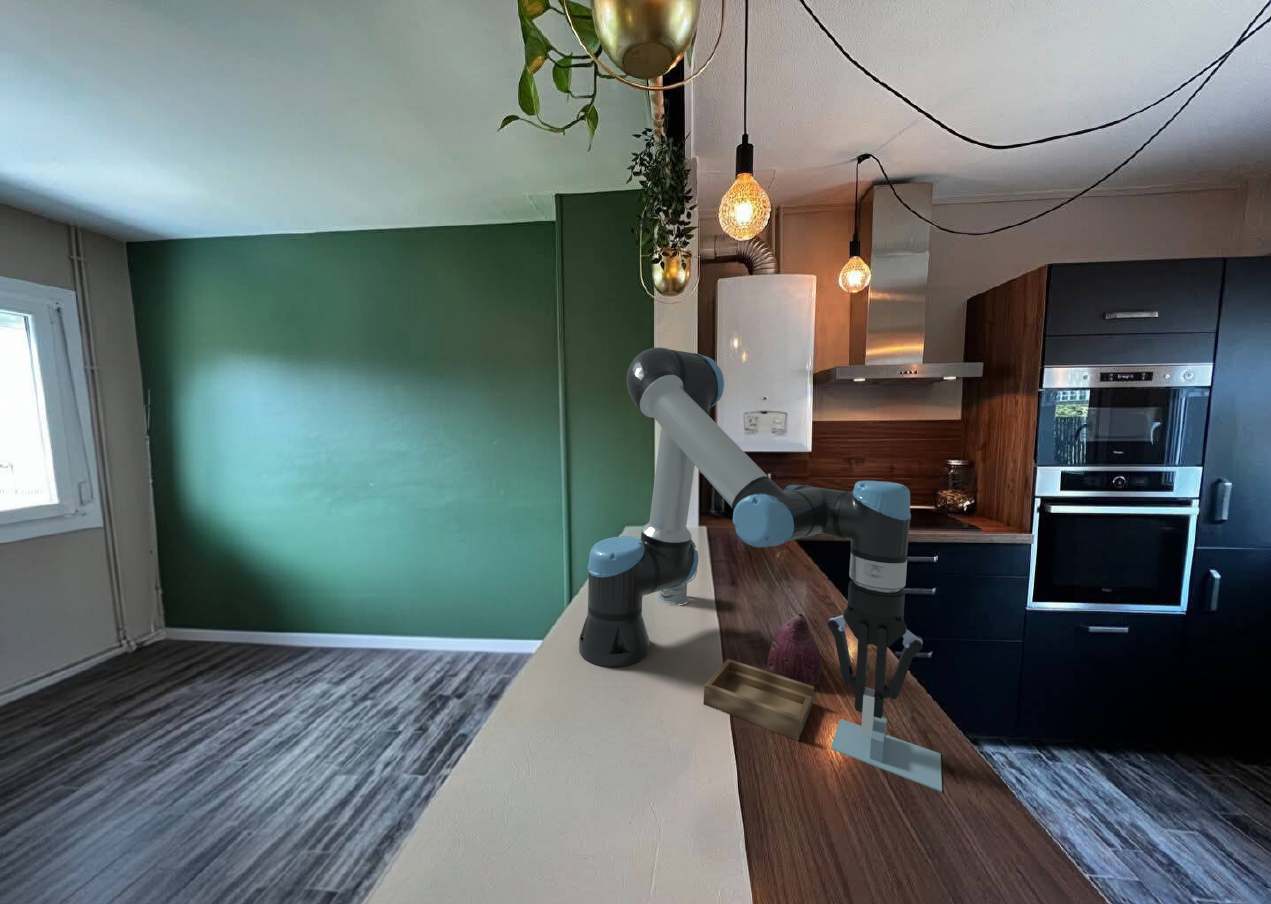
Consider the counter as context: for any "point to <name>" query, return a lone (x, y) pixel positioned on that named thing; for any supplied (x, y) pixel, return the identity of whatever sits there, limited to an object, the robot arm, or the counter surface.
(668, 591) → the french press
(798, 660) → the vegetable
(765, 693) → the pencil box
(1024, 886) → the counter surface
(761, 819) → the counter surface
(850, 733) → the lid
